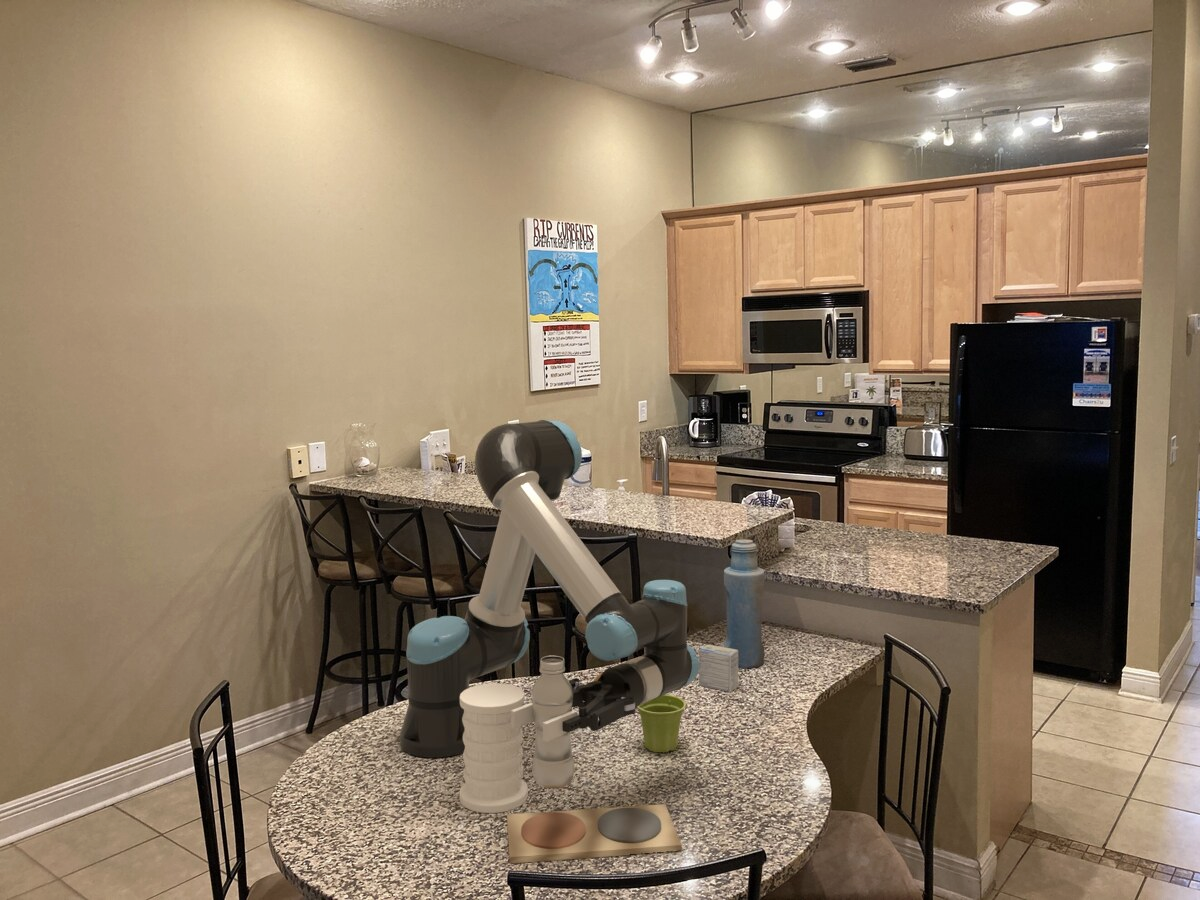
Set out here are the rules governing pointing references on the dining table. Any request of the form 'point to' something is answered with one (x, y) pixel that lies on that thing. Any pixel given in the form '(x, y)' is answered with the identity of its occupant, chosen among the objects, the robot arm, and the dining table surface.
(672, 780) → the dining table surface
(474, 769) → the decorative container
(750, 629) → the bottle
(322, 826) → the dining table surface
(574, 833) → the board
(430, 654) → the robot arm
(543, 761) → the plastic bottle
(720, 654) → the medicine box
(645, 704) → the plant pot
